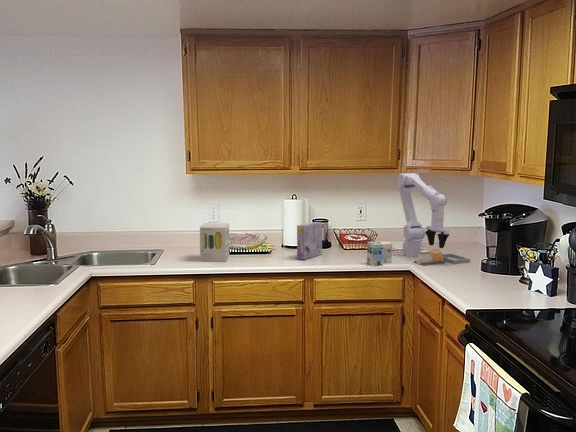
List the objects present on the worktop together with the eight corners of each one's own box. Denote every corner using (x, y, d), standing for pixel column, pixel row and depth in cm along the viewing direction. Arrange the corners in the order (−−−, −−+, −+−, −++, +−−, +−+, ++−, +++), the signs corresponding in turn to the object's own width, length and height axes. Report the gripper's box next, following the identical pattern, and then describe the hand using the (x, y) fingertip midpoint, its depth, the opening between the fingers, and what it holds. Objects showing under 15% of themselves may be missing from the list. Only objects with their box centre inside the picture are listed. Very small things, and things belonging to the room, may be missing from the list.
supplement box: (199, 261, 277) (199, 226, 275) (204, 256, 290) (203, 222, 288) (226, 262, 277) (225, 227, 274) (229, 256, 290) (229, 223, 287)
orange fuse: (429, 261, 275) (430, 249, 274) (437, 261, 277) (437, 249, 276) (433, 263, 272) (434, 251, 271) (441, 262, 274) (442, 250, 273)
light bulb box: (371, 266, 269) (372, 244, 268) (366, 263, 276) (366, 241, 274) (392, 265, 272) (392, 243, 271) (386, 262, 279) (386, 240, 277)
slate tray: (435, 260, 283) (435, 254, 283) (450, 258, 287) (451, 253, 287) (453, 266, 270) (454, 260, 270) (470, 264, 274) (470, 258, 274)
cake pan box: (315, 253, 299) (316, 220, 296) (323, 254, 296) (324, 221, 294) (295, 259, 283) (296, 225, 281) (304, 260, 280) (304, 226, 278)
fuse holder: (412, 264, 274) (412, 257, 274) (435, 261, 280) (435, 254, 279) (423, 268, 266) (424, 260, 266) (447, 265, 272) (447, 258, 271)
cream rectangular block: (417, 263, 272) (418, 251, 271) (425, 262, 274) (426, 250, 273) (421, 264, 269) (422, 252, 268) (429, 263, 271) (430, 251, 270)
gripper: (421, 217, 276) (420, 244, 278) (440, 221, 263) (439, 249, 265) (433, 216, 279) (431, 243, 281) (452, 220, 266) (451, 248, 268)
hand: (436, 246), depth 273 cm, fingers open, 7 cm apart
